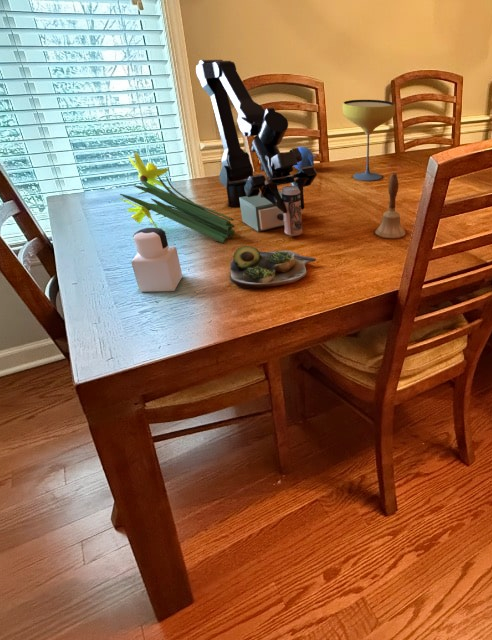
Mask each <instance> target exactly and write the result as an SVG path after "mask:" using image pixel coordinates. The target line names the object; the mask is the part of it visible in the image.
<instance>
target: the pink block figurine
mask: <svg viewBox="0 0 492 640" xmlns="http://www.w3.org/2000/svg"><path fill="white" fill-rule="evenodd" d="M132 238H133V242H134V245H135V250H136V255H135V256H134V257H133V259H132V260H131V262H130V263H131V267H132V269H133V273H134V276H135V281H136V283H137V287H138V290H139V292H140V293H146V292H148V293H149V292H174V291H176V288H177V286H179V283H180V281H181V279H182V278H183V272H182V268H181V262H180V258H179V254H178V249H177V247H176V246H169V242H168V238H167V234H166V230H164V229H162V228H159V227H158V228H156V227H144V228H141V229H139V230H137V231H135V232H134V234H133V235H132Z"/></svg>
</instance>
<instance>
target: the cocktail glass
mask: <svg viewBox="0 0 492 640" xmlns="http://www.w3.org/2000/svg"><path fill="white" fill-rule="evenodd" d="M395 111H396V104H395V103H394V102H393V101H389V100H380V99H351V100H345V101H344V102H343V103H342V114H343V116H344V117H345V118H346V119H347V120H348V121H349V122H351V123H352V124H355V125H356V126H358V127H360V129H362V130H363V132H364V133H365V135H367V139H366V141H367V142H366V143H367V144H366V165H365V166H366V167H365V171H364V172H363V171H362V172H358V173H357V172H356V173H354V174H353V175H352V178H353V179H354V180H357V181H361V182H375V181H379V180H381V179H383V175H382V174H379V173H376V172H371V171H370V135H372V134H373V132H374V131H375V129H376V128H378V127H380V126H383V124H385V123H388V122H389V121H390V120H391V119H393V117H394V116H395V113H396V112H395Z"/></svg>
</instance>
